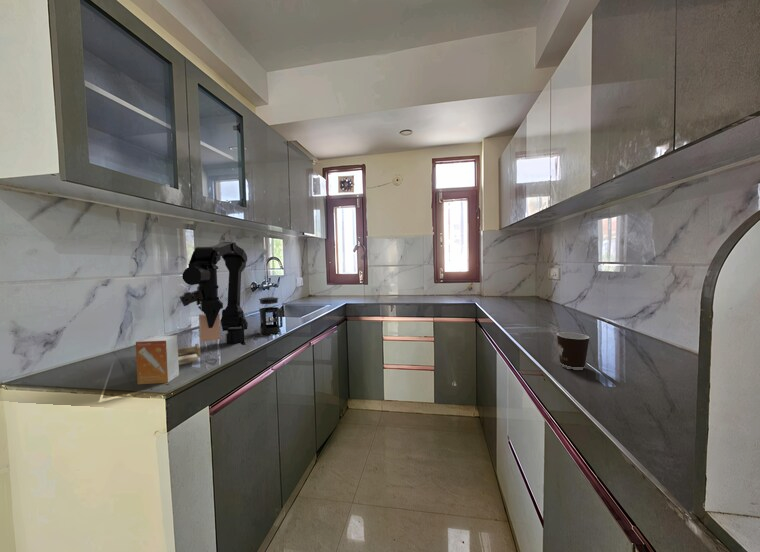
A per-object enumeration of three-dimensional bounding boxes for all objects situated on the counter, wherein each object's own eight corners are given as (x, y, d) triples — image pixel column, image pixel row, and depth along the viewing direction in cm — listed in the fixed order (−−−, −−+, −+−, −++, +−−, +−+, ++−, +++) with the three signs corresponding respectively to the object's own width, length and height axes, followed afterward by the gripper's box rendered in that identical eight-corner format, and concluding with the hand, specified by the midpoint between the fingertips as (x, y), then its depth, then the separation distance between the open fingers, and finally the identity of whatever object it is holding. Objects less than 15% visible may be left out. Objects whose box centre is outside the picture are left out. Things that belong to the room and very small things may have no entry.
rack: (197, 353, 117) (197, 343, 116) (200, 358, 110) (200, 347, 110) (169, 358, 111) (168, 347, 111) (170, 364, 105) (170, 352, 104)
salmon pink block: (219, 337, 111) (218, 312, 110) (220, 339, 108) (219, 314, 108) (200, 340, 107) (198, 314, 107) (201, 342, 105) (199, 316, 104)
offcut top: (196, 358, 109) (196, 353, 109) (198, 361, 105) (197, 356, 105) (177, 361, 105) (177, 357, 105) (178, 364, 102) (178, 360, 102)
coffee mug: (589, 374, 90) (590, 340, 89) (555, 369, 94) (556, 337, 94) (587, 362, 99) (588, 332, 99) (557, 358, 104) (557, 329, 103)
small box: (137, 387, 86) (134, 341, 85) (150, 378, 92) (148, 336, 91) (168, 385, 87) (166, 340, 86) (179, 376, 93) (177, 334, 92)
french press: (254, 334, 145) (252, 286, 144) (265, 330, 154) (264, 285, 153) (276, 335, 143) (275, 286, 142) (286, 331, 152) (285, 285, 151)
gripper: (179, 282, 109) (181, 325, 110) (182, 285, 94) (184, 335, 95) (214, 281, 116) (215, 321, 117) (222, 283, 101) (224, 330, 102)
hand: (210, 326), depth 107 cm, fingers closed on salmon pink block, 3 cm apart
